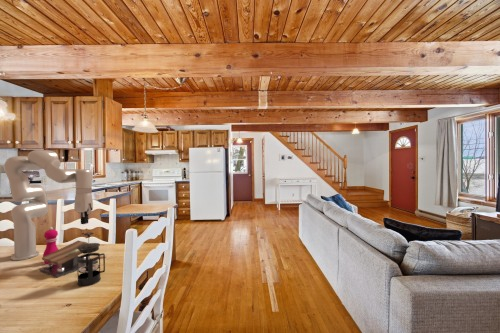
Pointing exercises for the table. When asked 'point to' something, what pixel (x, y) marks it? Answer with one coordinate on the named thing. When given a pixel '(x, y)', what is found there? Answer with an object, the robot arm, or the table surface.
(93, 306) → the table surface
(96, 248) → the french press
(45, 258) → the board
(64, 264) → the board stand
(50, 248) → the pepper mill
